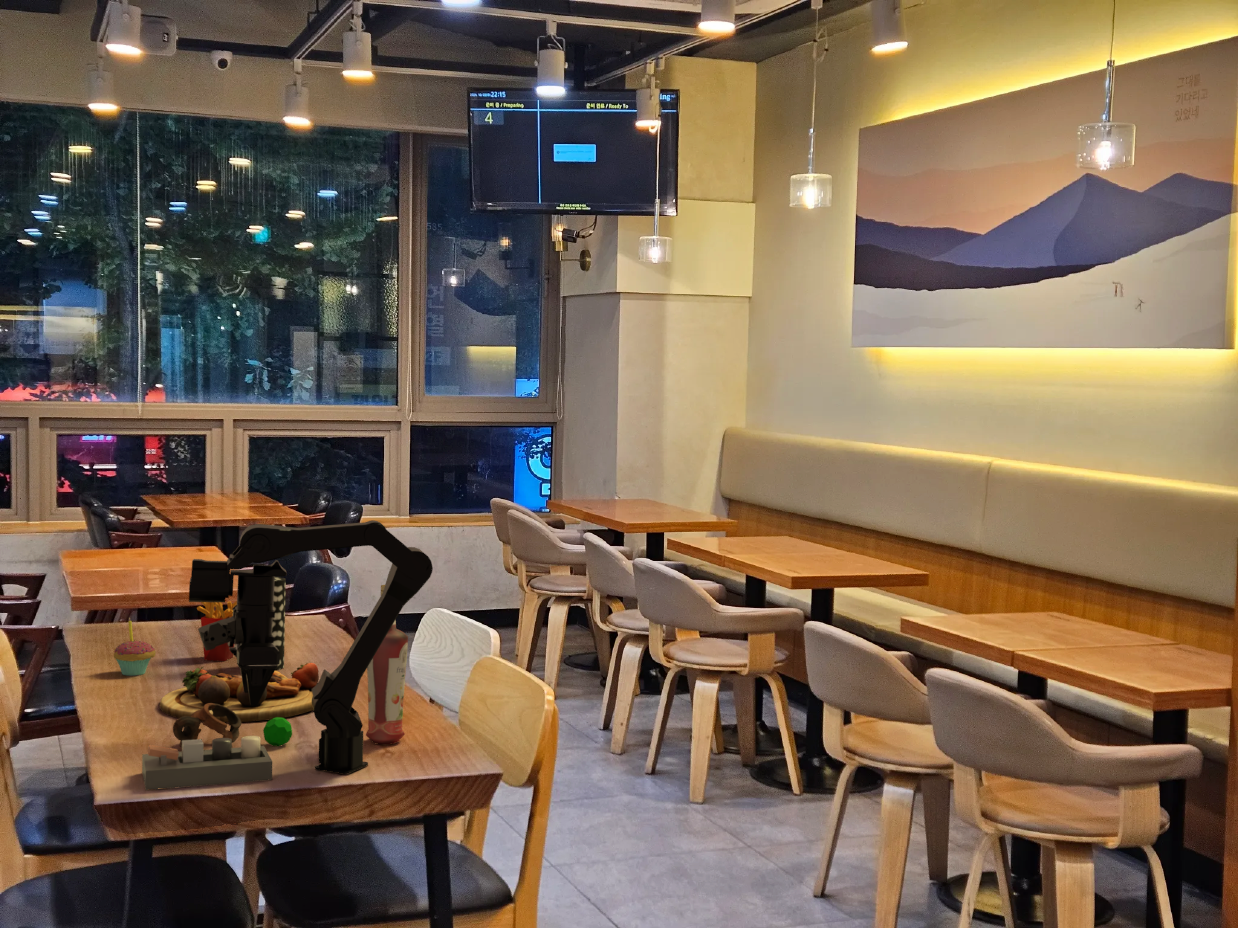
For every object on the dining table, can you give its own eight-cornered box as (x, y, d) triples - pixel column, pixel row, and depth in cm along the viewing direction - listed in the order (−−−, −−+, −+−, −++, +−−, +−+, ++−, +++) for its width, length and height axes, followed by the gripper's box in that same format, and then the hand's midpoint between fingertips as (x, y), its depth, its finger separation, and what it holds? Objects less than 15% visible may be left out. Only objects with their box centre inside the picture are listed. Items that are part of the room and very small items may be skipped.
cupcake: (105, 673, 286) (105, 618, 285) (139, 667, 293) (139, 613, 292) (129, 679, 281) (129, 623, 280) (163, 673, 288) (164, 618, 287)
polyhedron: (297, 745, 232) (298, 718, 232) (273, 750, 228) (274, 723, 228) (281, 740, 235) (281, 713, 235) (257, 744, 231) (257, 717, 231)
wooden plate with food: (320, 685, 282) (320, 646, 282) (335, 718, 252) (335, 675, 251) (161, 694, 272) (161, 654, 272) (157, 730, 242) (157, 685, 241)
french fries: (238, 656, 308) (239, 592, 308) (224, 663, 300) (225, 597, 299) (202, 654, 309) (203, 591, 309) (187, 661, 301) (188, 596, 300)
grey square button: (201, 757, 212) (201, 739, 212) (203, 762, 210) (203, 743, 209) (181, 758, 211) (181, 740, 211) (183, 763, 208) (183, 744, 208)
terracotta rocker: (175, 755, 211) (177, 749, 211) (177, 759, 208) (178, 753, 208) (147, 750, 209) (149, 744, 209) (148, 755, 206) (150, 748, 206)
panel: (263, 763, 220) (263, 737, 219) (272, 779, 210) (272, 752, 210) (142, 772, 212) (142, 745, 212) (145, 790, 203) (146, 761, 203)
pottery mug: (204, 738, 237) (228, 700, 236) (232, 770, 232) (256, 731, 231) (151, 734, 227) (175, 694, 226) (179, 767, 222) (204, 727, 221)
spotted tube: (249, 663, 300) (250, 576, 300) (286, 664, 301) (288, 576, 301) (242, 671, 292) (244, 581, 291) (281, 671, 293) (282, 581, 292)
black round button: (230, 755, 214) (230, 737, 214) (232, 760, 211) (232, 741, 211) (211, 756, 213) (211, 738, 213) (212, 761, 210) (213, 742, 210)
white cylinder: (258, 753, 216) (259, 735, 216) (261, 758, 213) (261, 739, 213) (239, 754, 215) (240, 736, 215) (242, 759, 212) (242, 740, 212)
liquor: (398, 747, 232) (401, 589, 231) (358, 745, 233) (361, 587, 232) (411, 737, 239) (414, 584, 238) (372, 734, 240) (375, 581, 239)
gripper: (198, 594, 219) (194, 687, 219) (207, 612, 201) (203, 713, 202) (267, 594, 223) (263, 686, 223) (282, 612, 206) (277, 711, 206)
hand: (250, 698), depth 214 cm, fingers open, 9 cm apart
